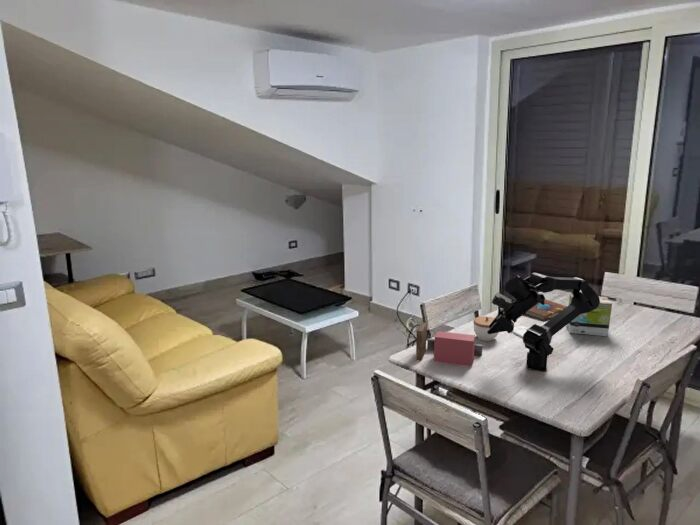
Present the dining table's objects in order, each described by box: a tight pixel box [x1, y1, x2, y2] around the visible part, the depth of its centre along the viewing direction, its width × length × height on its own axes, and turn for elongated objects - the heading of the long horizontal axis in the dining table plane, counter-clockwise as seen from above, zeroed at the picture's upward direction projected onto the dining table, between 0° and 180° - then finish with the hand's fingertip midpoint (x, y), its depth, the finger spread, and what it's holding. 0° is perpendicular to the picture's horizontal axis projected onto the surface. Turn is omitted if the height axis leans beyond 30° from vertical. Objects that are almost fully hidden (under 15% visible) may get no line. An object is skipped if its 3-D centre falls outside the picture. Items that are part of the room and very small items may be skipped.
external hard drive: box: [511, 325, 529, 339], centre depth 219 cm, size 2×8×12 cm
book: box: [525, 298, 568, 321], centre depth 245 cm, size 16×25×5 cm, turn 128°
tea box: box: [566, 293, 613, 337], centre depth 219 cm, size 15×10×15 cm
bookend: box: [415, 322, 483, 362], centre depth 195 cm, size 23×13×12 cm, turn 71°
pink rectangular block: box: [433, 330, 476, 367], centre depth 192 cm, size 14×6×10 cm, turn 71°
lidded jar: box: [473, 315, 500, 342], centre depth 213 cm, size 11×11×9 cm
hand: (488, 330), depth 186 cm, fingers open, 6 cm apart
